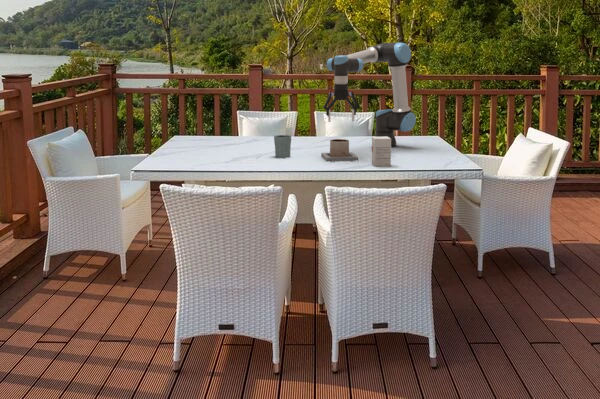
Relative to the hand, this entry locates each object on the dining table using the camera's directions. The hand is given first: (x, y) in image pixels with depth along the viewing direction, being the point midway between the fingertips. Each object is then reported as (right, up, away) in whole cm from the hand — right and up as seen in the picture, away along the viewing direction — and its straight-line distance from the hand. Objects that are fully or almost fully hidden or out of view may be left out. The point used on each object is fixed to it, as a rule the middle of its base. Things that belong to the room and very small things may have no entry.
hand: (341, 121), depth 409 cm
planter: (-1, -20, +1) cm, 20 cm away
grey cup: (-33, -20, +9) cm, 40 cm away
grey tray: (-1, -21, -1) cm, 21 cm away
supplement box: (+20, -26, -21) cm, 39 cm away
